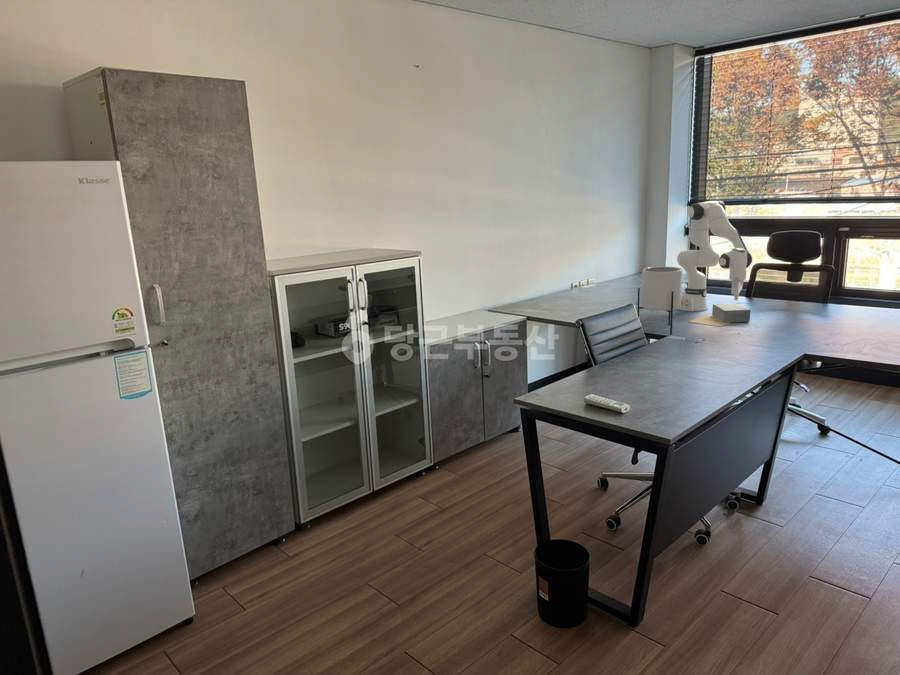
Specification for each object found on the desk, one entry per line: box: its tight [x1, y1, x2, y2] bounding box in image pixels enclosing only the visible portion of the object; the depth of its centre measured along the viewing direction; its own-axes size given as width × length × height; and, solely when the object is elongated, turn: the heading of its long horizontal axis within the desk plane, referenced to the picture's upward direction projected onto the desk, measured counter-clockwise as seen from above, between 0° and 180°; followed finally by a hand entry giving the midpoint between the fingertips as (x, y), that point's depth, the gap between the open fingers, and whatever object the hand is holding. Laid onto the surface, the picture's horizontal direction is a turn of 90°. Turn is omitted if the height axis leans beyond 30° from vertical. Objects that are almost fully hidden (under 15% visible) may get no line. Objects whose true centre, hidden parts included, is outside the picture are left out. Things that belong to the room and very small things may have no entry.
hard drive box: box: [711, 302, 751, 323], centre depth 372 cm, size 16×8×20 cm
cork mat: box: [688, 314, 733, 328], centre depth 371 cm, size 20×22×1 cm
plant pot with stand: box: [637, 266, 683, 335], centre depth 355 cm, size 24×24×36 cm
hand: (736, 299), depth 358 cm, fingers closed
